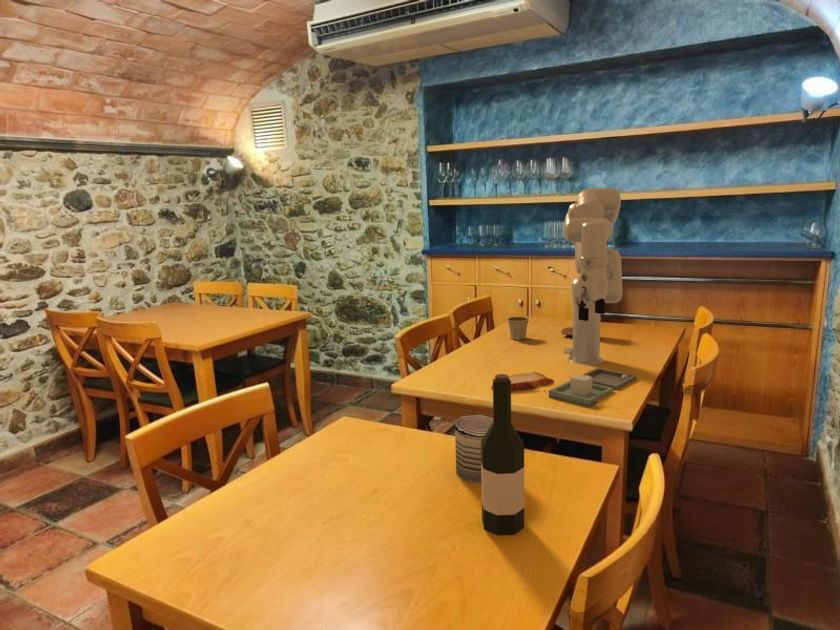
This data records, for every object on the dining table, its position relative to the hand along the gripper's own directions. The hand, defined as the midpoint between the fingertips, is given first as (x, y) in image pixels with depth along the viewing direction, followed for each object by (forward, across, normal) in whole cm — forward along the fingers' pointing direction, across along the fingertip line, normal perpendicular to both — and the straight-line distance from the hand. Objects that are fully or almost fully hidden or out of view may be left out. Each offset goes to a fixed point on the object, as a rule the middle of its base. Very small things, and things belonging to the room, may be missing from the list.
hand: (591, 316), depth 184 cm
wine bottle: (+19, -81, -28) cm, 88 cm away
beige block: (+22, -9, -2) cm, 24 cm away
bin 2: (+24, +7, -2) cm, 25 cm away
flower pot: (+27, +37, +56) cm, 72 cm away
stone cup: (+27, +56, +36) cm, 72 cm away
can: (+20, -68, -11) cm, 72 cm away
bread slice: (+24, -12, +17) cm, 32 cm away
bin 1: (+23, -9, -2) cm, 25 cm away
